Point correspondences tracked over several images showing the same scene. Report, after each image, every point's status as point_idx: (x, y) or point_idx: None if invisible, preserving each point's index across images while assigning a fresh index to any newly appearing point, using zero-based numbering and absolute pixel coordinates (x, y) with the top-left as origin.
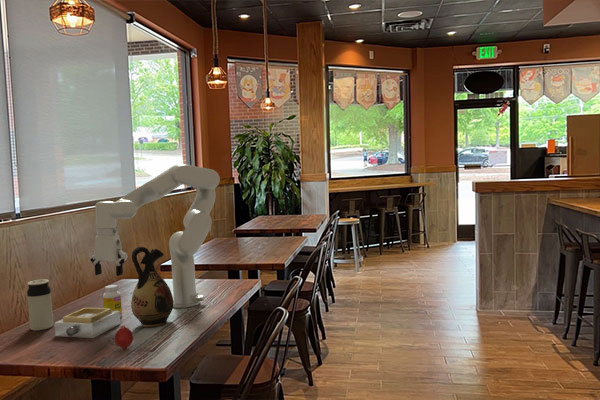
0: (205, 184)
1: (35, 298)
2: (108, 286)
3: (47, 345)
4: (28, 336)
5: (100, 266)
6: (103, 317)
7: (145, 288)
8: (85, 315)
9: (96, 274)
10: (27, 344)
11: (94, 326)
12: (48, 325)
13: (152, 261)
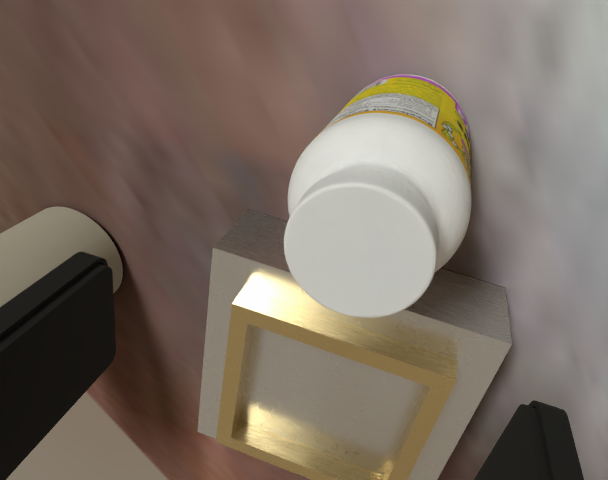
0: None
1: None
2: (323, 262)
3: (262, 464)
4: (115, 352)
5: (7, 373)
6: (436, 440)
7: None
8: (296, 371)
9: (102, 360)
10: (179, 432)
11: None
12: (114, 286)
13: None
